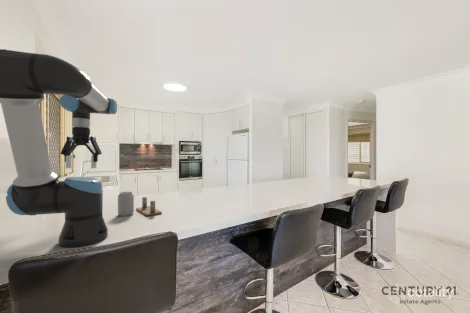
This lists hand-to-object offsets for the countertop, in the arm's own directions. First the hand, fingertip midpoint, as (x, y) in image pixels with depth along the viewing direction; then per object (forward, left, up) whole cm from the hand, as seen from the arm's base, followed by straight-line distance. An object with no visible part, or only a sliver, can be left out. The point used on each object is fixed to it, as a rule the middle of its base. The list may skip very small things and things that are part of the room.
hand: (81, 168), depth 112 cm
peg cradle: (-14, -29, -25) cm, 41 cm away
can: (-12, -18, -25) cm, 33 cm away
